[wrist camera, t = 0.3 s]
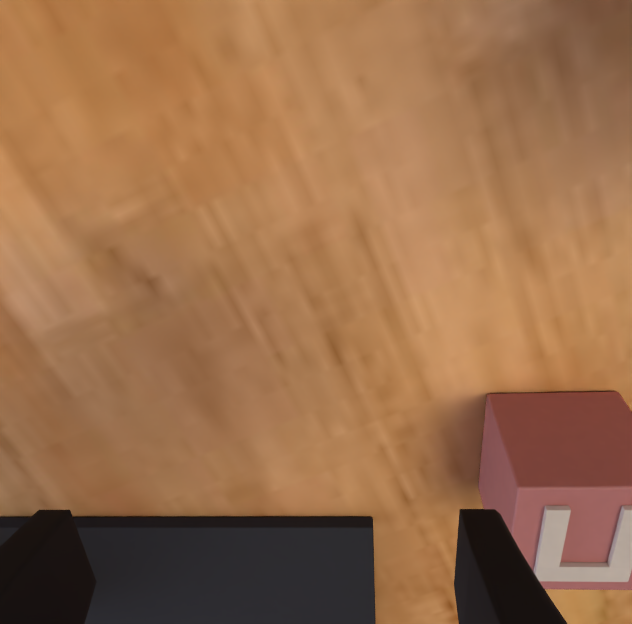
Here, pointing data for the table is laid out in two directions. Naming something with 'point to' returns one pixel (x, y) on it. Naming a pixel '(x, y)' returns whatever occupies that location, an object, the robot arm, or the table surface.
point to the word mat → (227, 569)
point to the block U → (563, 484)
